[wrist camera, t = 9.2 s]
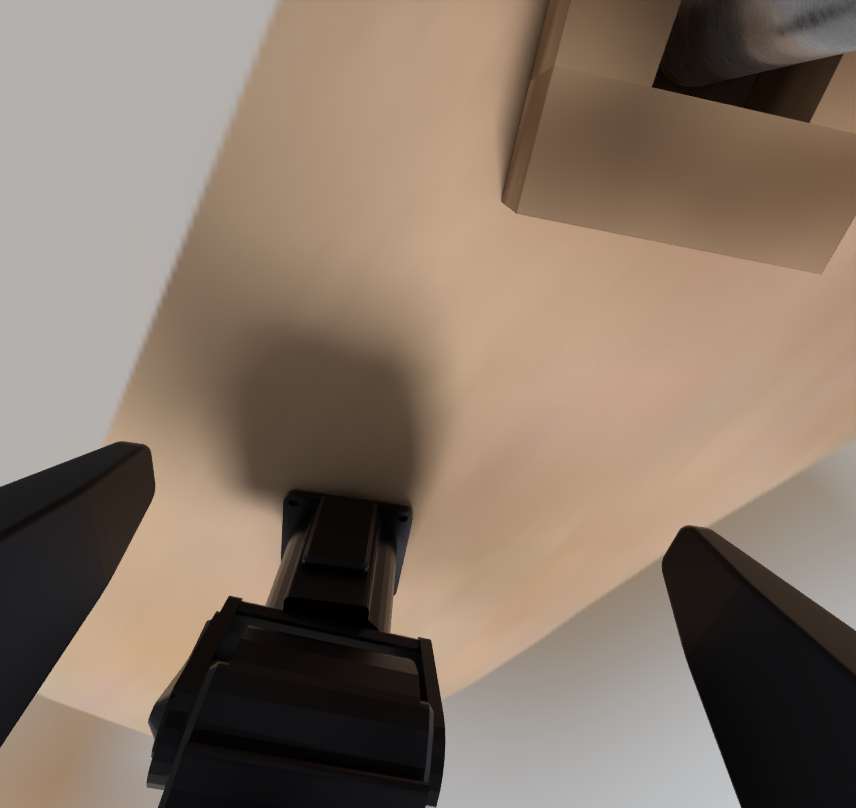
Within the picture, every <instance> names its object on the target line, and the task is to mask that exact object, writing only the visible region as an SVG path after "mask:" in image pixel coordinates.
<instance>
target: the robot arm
mask: <svg viewBox="0 0 856 808" xmlns="http://www.w3.org/2000/svg"><path fill="white" fill-rule="evenodd" d="M154 493H155V478H154V471H153V463H152V455H151V451H150V449H149V447H148V446H146V445H144V444H138V443H132V442H124V441H120V442H116V443H113V444H111V445H108V446H105V447H103V448H100V449H98V450H95V451H92V452H90V453H87V454H85V455H82V456H80V457H77V458H74V459H72V460H69V461H67V462H64V463H61V464H59V465H56V466H53V467H51V468H48V469H46V470H43V471H41V472H38V473H36V474H33V475H30V476H27V477H25V478H22V479H20V480H17V481H14V482H12V483H9V484H7V485H4V486H1V487H0V747H1V746H2V744H3V743H4V741H5V740H6V738H7V736H8V735H9V734H10V732H11V731H12V729H13V727H14V726H15V725H16V723H17V722H18V720H19V719H20V717H21V716H22V714H23V712H24V711H25V710H26V708H27V706H28V705H29V703H30V702H31V700H32V699H33V697H34V696H35V694H36V693H37V691H38V690H39V688H40V687H41V685H42V684H43V682H44V681H45V679H46V678H47V676H48V675H49V673H50V672H51V670H52V669H53V667H54V666H55V664H56V663H57V661H58V660H59V658H60V657H61V655H62V654H63V652H64V651H65V649H66V648H67V646H68V645H69V643H70V642H71V640H72V639H73V637H74V636H75V634H76V633H77V631H78V630H79V628H80V627H81V625H82V624H83V622H84V621H85V619H86V618H87V616H88V615H89V613H90V612H91V610H92V609H93V607H94V606H95V604H96V602H97V601H98V599H99V598H100V596H101V595H102V593H103V591H104V590H105V588H106V587H107V585H108V583H109V581H110V580H111V578H112V576H113V574H114V573H115V571H116V569H117V567H118V565H119V563H120V561H121V559H122V557H123V555H124V553H125V551H126V550H127V548H128V546H129V544H130V542H131V540H132V538H133V536H134V534H135V532H136V530H137V528H138V526H139V524H140V523H141V521H142V519H143V517H144V515H145V513H146V511H147V509H148V507H149V505H150V503H151V501H152V499H153V496H154ZM292 499H295V500H297V501H298V502H295V501H293V500H292ZM400 515H406V516H405V517H401V516H400ZM412 518H413V512H412V510H411V509H410V508H409V507H407V506H402V505H396V504H389V503H382V502H375V501H368V500H361V499H354V498H347V497H340V496H333V495H326V494H320V493H313V492H306V491H299V490H291V491H289V492H288V493H287V494H286V496H285V499H284V502H283V526H282V549H281V564H280V567H279V569H278V572H277V575H276V578H275V580H274V583H273V586H272V589H271V591H270V594H269V597H268V600H267V602H266V605H265V606H263V605H259V604H254V603H249V602H245V601H242V598H238V597H233V596H229V597H228V599H227V600H226V602H225V604H224V606H223V608H222V609H221V611H220V612H218V611H216V613H215V615H214V616H213V618H212V619H211V620H209V621H207V622H206V624H205V626H204V628H203V630H202V632H201V634H200V637H199V639H198V641H197V643H196V645H195V647H194V649H193V651H192V653H191V655H190V656H189V658H188V660H187V661H186V663H185V664H184V666H183V667H182V668H181V670H180V671H179V672H178V674H177V675H176V676H175V678H174V679H173V680H172V682H171V683H170V684H169V686H168V687H167V688H166V690H165V691H164V692H163V694H162V695H161V696H160V698H159V699H158V700H157V702H156V703H155V705H154V707H153V709H152V712H151V714H150V717H149V720H148V724H149V726H150V729H151V732H152V734H153V737H154V740H155V741H154V745H153V749H152V755H151V757H152V761H151V765H150V768H149V772H148V777H147V787H148V788H154V789H161V790H164V792H163V795H162V798H161V801H160V803H159V806H158V808H436V806H437V802H438V797H439V793H440V788H441V783H442V777H443V768H444V759H445V723H444V715H443V709H442V703H441V697H440V691H439V685H438V679H437V673H436V667H435V661H434V655H433V649H432V643H431V640H430V639H425V638H421V637H418V639H415V638H410V637H406V636H401V635H396V634H392V633H390V629H391V617H392V605H393V596H394V595H395V594H396V592H397V588H398V583H399V578H400V574H401V569H402V565H403V560H404V556H405V551H406V547H407V542H408V538H409V533H410V528H411V524H412ZM662 573H663V577H664V580H665V584H666V588H667V591H668V595H669V599H670V603H671V606H672V610H673V614H674V617H675V621H676V625H677V629H678V632H679V636H680V640H681V644H682V647H683V650H684V654H685V657H686V660H687V663H688V666H689V669H690V672H691V674H692V677H693V680H694V683H695V685H696V688H697V691H698V693H699V696H700V699H701V701H702V704H703V707H704V709H705V712H706V715H707V717H708V720H709V723H710V725H711V728H712V731H713V733H714V736H715V739H716V742H717V744H718V747H719V750H720V752H721V755H722V758H723V760H724V763H725V766H726V768H727V771H728V774H729V777H730V779H731V782H732V785H733V787H734V790H735V793H736V795H737V798H738V801H739V803H740V806H741V808H856V631H855V630H854V629H852V628H851V627H850V626H848V625H847V624H845V623H844V622H842V621H841V620H840V619H838V618H837V617H835V616H834V615H832V614H831V613H830V612H828V611H827V610H825V609H824V608H823V607H821V606H820V605H818V604H817V603H815V602H814V601H812V600H811V599H810V598H808V597H807V596H805V595H804V594H803V593H801V592H800V591H798V590H797V589H795V588H794V587H792V586H791V585H790V584H788V583H787V582H785V581H784V580H782V579H781V578H780V577H778V576H777V575H775V574H774V573H773V572H771V571H770V570H768V569H767V568H765V567H764V566H763V565H761V564H760V563H758V562H757V561H755V560H754V559H752V558H751V557H750V556H748V555H747V554H746V553H744V552H743V551H741V550H740V549H738V548H737V547H735V546H734V545H733V544H731V543H730V542H728V541H727V540H725V539H724V538H723V537H721V536H720V535H718V534H717V533H716V532H714V531H713V530H711V529H708V528H704V527H697V526H691V525H687V526H684V527H682V528H681V529H680V530H679V532H678V533H677V535H676V537H675V538H674V540H673V542H672V543H671V545H670V547H669V548H668V550H667V552H666V554H665V555H664V557H663V561H662Z"/></svg>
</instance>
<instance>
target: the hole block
mask: <svg viewBox="0 0 856 808" xmlns="http://www.w3.org/2000/svg"><path fill="white" fill-rule="evenodd" d="M680 3H681V0H549V3H548V8H547V12H546V16H545V20H544V24H543V29H542V33H541V37H540V41H539V45H538V50H537V54H536V58H535V62H534V66H533V71H532V75H531V79H530V83H529V87H528V92H527V96H526V100H525V104H524V108H523V113H522V117H521V121H520V125H519V129H518V134H517V138H516V142H515V146H514V151H513V155H512V159H511V163H510V167H509V172H508V176H507V180H506V184H505V188H504V193H503V197H502V201H501V202H502V203H504V204H505V205H506V206H507V207H509V208H510V209H511V210H512V211H514V212H515V213H516V214H521V215H526V216H531V217H536V218H541V219H546V220H551V221H556V222H561V223H566V224H571V225H576V226H581V227H586V228H591V229H596V230H601V231H606V232H611V233H616V234H621V235H626V236H631V237H636V238H641V239H646V240H651V241H656V242H661V243H666V244H671V245H676V246H681V247H686V248H691V249H696V250H701V251H706V252H711V253H716V254H721V255H726V256H731V257H736V258H741V259H746V260H751V261H756V262H761V263H766V264H771V265H776V266H781V267H786V268H791V269H796V270H801V271H806V272H811V273H816V274H822V273H823V271H824V269H825V267H826V266H827V264H828V262H829V261H830V259H831V257H832V255H833V254H834V252H835V250H836V249H837V247H838V245H839V243H840V242H841V240H842V238H843V237H844V235H845V233H846V231H847V230H848V228H849V226H850V225H851V223H852V221H853V219H854V218H855V216H856V51H852V52H848V53H843V54H839V55H834V56H830V57H826V58H821V59H817V60H812V61H808V62H804V63H799V64H795V65H790V66H786V67H782V68H777V69H773V70H768V71H764V72H761V73H760V75H759V77H758V80H757V82H756V84H755V87H754V89H753V91H752V94H751V96H750V98H749V100H748V103H747V105H746V107H745V108H741V107H736V106H732V105H728V104H723V103H719V102H714V101H710V100H706V99H701V98H697V97H692V96H688V95H684V94H679V93H675V92H670V91H666V90H662V89H657V88H653V87H652V85H653V82H654V79H655V76H656V73H657V70H658V67H659V64H660V61H661V58H662V55H663V53H664V50H665V47H666V44H667V41H668V38H669V35H670V32H671V29H672V26H673V23H674V21H675V18H676V15H677V12H678V9H679V6H680Z"/></svg>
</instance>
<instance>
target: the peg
mask: <svg viewBox="0 0 856 808" xmlns="http://www.w3.org/2000/svg"><path fill="white" fill-rule="evenodd" d="M852 51H856V0H681V3H680V6H679V9H678V12H677V15H676V18H675V21H674V23H673V26H672V29H671V32H670V35H669V38H668V41H667V44H666V47H665V50H664V53H663V55H662V58H661V61H660V64H659V66H660V69H661V70H662V72H663V73H664V75H665V76H666V77H667V78H668V79H669V80H671V81H672V82H674V83H676V84H678V85H681V86H685V87H697V86H702V85H706V84H711V83H715V82H720V81H724V80H729V79H733V78H737V77H742V76H746V75H751V74H755V73H759V72H764V71H768V70H773V69H777V68H782V67H786V66H790V65H795V64H799V63H804V62H808V61H812V60H817V59H821V58H826V57H830V56H834V55H839V54H843V53H848V52H852Z"/></svg>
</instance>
